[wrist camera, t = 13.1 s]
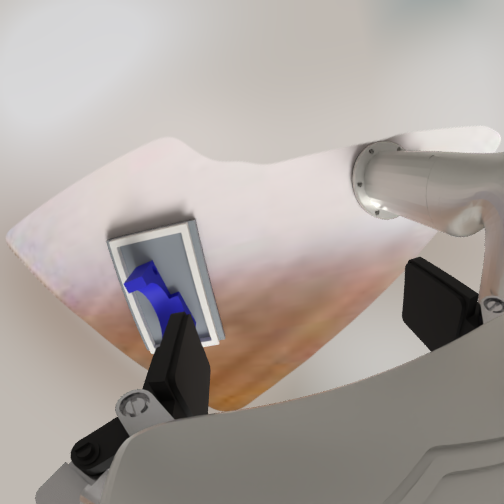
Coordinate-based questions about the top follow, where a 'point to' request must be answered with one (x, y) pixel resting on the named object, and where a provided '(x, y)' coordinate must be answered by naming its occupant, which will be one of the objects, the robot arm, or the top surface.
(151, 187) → the top surface
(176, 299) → the blue long irregular block
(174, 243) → the shallow rectangular tray
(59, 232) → the top surface
